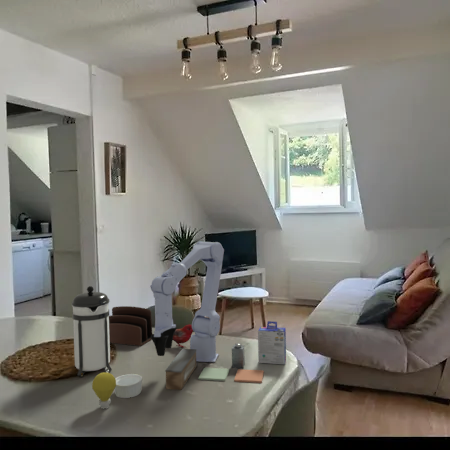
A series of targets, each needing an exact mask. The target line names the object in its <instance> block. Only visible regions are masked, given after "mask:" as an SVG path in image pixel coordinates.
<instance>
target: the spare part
mask: <svg viewBox="0 0 450 450" xmlns="http://www.w3.org/2000/svg"><path fill="white" fill-rule="evenodd" d="M245 359H246V358H245V345H242V343H240V342H235V343H234V344H233V345H232V347H231V368H232V369H244V368H245V366H246V365H245V361H246V360H245Z"/></svg>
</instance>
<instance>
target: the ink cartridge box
mask: <svg viewBox="0 0 450 450" xmlns="http://www.w3.org/2000/svg"><path fill="white" fill-rule="evenodd" d="M270 324H274V325H270ZM286 331H287V330H286V327H279V326H278V321H268V320H267V322H266V326H259V328H258V331H257V339H258V340H257V341H258V342H257V345H258V346H257V347H258V350H257V351H258V356H257V357H258V364H269V365H270V364H271V365H285V364H286V361H287V336H286V335H287V332H286Z"/></svg>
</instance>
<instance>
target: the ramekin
mask: <svg viewBox="0 0 450 450" xmlns="http://www.w3.org/2000/svg"><path fill="white" fill-rule="evenodd" d="M115 379H116V387H115V389H114V394H115V396H116V397H118V398H120V399H121V398H122V399H130V397H131V398H133V397H137V396H139V395H140V394H141V392H142V386H143V385H142V384H143V376H142V375H140V374H135V373H128V374H123V375H119V376H117V377H115Z"/></svg>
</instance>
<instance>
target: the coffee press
mask: <svg viewBox="0 0 450 450" xmlns="http://www.w3.org/2000/svg"><path fill="white" fill-rule="evenodd" d="M86 291H87V292H82V293H79V294H77V295H76V296H74V298H73V299H72V301H71V307H72V319H73V321H72V323H73V325H72V326H73V349H74V351H73V352H74V368H75V367H76V368H75V369H77V370H78V371H77V373H76V374H77V377H78V376H80V377H79V378H82V377H81V373H83V376H84V375H85V373H86V372H94V371H99V370H104V371H105V372H107V371H109V372H108V373H110V372H111V371H112V366H110V362H111V354H110V353H111V347H110V346H111V345H110V344H111V343H110V341H109V316H110V309H109V303H110V299H109V297H108V295H107V294H105V293H104V292H99V291H94V287H93V286H91V285H90V286H88V287H87V288H86Z"/></svg>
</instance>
